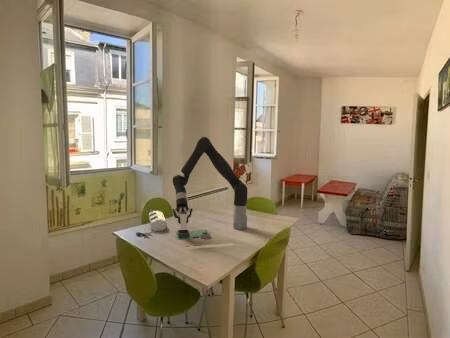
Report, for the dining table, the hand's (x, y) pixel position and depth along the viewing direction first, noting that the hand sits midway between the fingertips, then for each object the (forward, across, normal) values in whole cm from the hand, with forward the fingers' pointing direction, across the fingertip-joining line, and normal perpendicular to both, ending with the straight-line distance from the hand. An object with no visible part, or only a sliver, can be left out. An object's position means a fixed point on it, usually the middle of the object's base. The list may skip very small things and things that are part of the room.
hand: (183, 223), depth 204 cm
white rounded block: (-15, -16, +32) cm, 38 cm away
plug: (+1, 0, +4) cm, 5 cm away
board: (+5, +7, +10) cm, 13 cm away
